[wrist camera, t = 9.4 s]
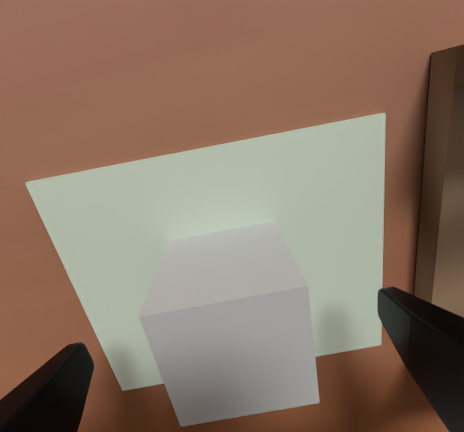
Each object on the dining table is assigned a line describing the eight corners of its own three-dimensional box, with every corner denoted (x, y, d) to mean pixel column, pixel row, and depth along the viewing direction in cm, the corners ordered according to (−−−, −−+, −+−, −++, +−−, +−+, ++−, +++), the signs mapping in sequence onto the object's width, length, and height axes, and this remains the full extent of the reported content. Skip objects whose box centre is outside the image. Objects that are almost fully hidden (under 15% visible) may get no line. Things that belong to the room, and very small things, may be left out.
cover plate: (372, 331, 13) (450, 444, 9) (127, 375, 14) (83, 506, 9) (372, 112, 10) (505, 116, 5) (39, 177, 10) (-106, 233, 5)
